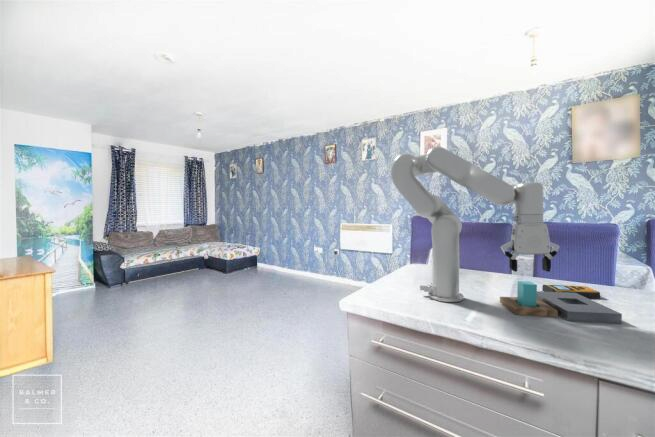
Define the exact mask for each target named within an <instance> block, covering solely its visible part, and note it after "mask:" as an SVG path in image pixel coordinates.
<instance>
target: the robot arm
mask: <svg viewBox="0 0 655 437" xmlns="http://www.w3.org/2000/svg"><path fill="white" fill-rule="evenodd" d="M390 169H391V170H390V177H391V181H392V183H393V185H394V186H395V188H396V189H397V191H398V192H399V193H400V194H401V195H402V196H403V198H404V199H405V200H406V202H408V204H409V205H410V206H411V208H412V209H413V210H414V211H415V212H416V214H417V215H418V216H419V217H421V218H423V219H427V220H428V221H429V222H430V223H431V230H430V232H431V233H430V234H431V247H432V279H431V280H432V282H430V284H428V285H423V284H420V285H419V291H423V292H424V293H425V292H426V293H427V296H428V298H430V299H432V300H435V301H439V302H443V303H459V302H462V301H464V298H465V297H464V294H463V293H461V292H460V233H461V231H462V228H463V224H462V221H461V219H460V218H459V216H458V215H457V214H456V213H455V212H454V211H453V210H452V209H451V208H450V207H449V206H448V205H447V203H446V202H444V200H443V199H442V198H441V197H439V196H438V195H435V194H432V193H431V192H430V191H429V190H428V189H426V187H425V186H424V185H423V184H422V183H421V181H419V180H418V179H417V177H419V176H424V175H425V176H426V175H429V174H434V173H439V174H441V175H443V176H444V177H446V178H448V179H449V180H450V181H452V182H454V183H456V184H457V185H459V186H461V187H464V188H467V189H469V191H472V192H474V193H475V194H477V195H479V196H481V197H482V198H483V199H486V200H487V201H489V202H490V203H493V205H496V206H508V205H515V210H514V211H515V214H514V216H511V217H510V219H511V221H512V222H513V221H514V223H513V225H512V229H511V236H510V241H508V242H506V243H504V244H502V245H501V246H500V249H501V251H502V252H503V255H504V256H506V257H507V258H508V259H509V268H510V270H511V271H513V272H518V259H516V258H518V256H519V255H542V256H543V257H542V259H541V264H542V266H541V269H542V270H543V271H545V272H549V273H550V272H551V268H552V260H553V258H554V257H555V256H556V255H557V253H558V251H559V250H560V248H561V246H560V245H559V244H558V243H557V244H556V243H554V242H552V241H551V239H550V232H549V229H548V225H547V223H544V186H543V184H542V183H541V182H539V181H534V182H533V181H530V182H521V183H518V184H509V183H508V182H506V181H504V180H503V179H501V178H500V177H497V176H495V175H494V174H491V173H489V172H487V170H484V169H482V168H480V167H479V166H477V165H476V164H474V163H472V162H470V161H469V160H466V159H465V158H464V157H461V156H459V155H458V154H456V153H453V152H452V151H450V150H448V149H447V148H444V147H442V146H433V147H432V148H430V149H428V151H427V152H426V153H425V154H421V155H417V156H415V155H413V154H411V153H401V154H399V155H397V157H396V158H394V160H393V162H392V165H391V168H390ZM508 248H510V249H511V252H509V249H508Z"/></svg>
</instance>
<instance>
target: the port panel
mask: <svg viewBox="0 0 655 437" xmlns="http://www.w3.org/2000/svg"><path fill="white" fill-rule="evenodd" d="M537 299H539V300H541V301H542V302H544V303H546V304H547V305H549V306H551V307H552V308H554V309H556V310H557V311H558V316H557V317H560V318H561V319H563V320H565V321H567V322H577V323H578V322H580V323H596V324H614V325H616V324H617V325H622V322H623V320H622V319H623V313H621V312H618V311H616V310H614V309H612V308H609V307H607V306H605V305H603V304H601V303H599V302H596V301H595V300H593V299H591V298H586V297H584V296H582V295H579V294H577V293H568V292H544V291H539V290H537Z"/></svg>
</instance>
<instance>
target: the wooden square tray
mask: <svg viewBox="0 0 655 437" xmlns="http://www.w3.org/2000/svg"><path fill="white" fill-rule="evenodd" d="M499 303H500V304H501V305H503V306H504V307H505V308H506V309H507V310H508V311H510V313H512V314H514V315H516V316H530V317H531V316H533V317H534V316H535V317H550V318H552V317H553V318H557V317H559V316H558V311H557V310H556V309H554V308H552V307H551V306H549V305H547V304H546V303H544V302H542V301H541V300H539V299H537V304H536V307H535V306H521V305H519V304H518V303H517V296H516V297H515V296H499Z"/></svg>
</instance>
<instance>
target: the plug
mask: <svg viewBox="0 0 655 437" xmlns="http://www.w3.org/2000/svg"><path fill="white" fill-rule="evenodd" d="M537 291H538V285H537V284H536V283H535V282H532V281H530V280H529V281H526V280H525V281H524V280H523V281H522V280H518V281H517V291H516V292H517V293H516V294H517V295H516V297H517V303H518V304H519V305H521V306H535V307H536V304H537Z"/></svg>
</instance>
